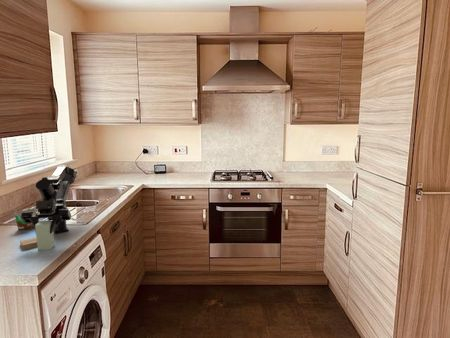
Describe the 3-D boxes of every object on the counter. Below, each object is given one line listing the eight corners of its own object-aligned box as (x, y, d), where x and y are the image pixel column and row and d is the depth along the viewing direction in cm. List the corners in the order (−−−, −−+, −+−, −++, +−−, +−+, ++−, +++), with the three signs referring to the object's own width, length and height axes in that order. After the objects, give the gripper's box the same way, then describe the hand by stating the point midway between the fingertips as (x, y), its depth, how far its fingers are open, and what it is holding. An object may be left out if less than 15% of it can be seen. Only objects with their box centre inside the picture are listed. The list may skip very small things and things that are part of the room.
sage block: (41, 245, 141) (39, 221, 139) (54, 244, 142) (51, 220, 140) (37, 250, 136) (35, 225, 134) (50, 249, 137) (48, 224, 135)
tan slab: (20, 245, 142) (20, 240, 142) (38, 242, 146) (38, 236, 146) (22, 250, 137) (21, 245, 136) (41, 246, 141) (40, 241, 140)
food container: (26, 231, 159) (24, 212, 157) (15, 231, 160) (13, 211, 158) (44, 223, 171) (42, 205, 169) (34, 223, 172) (32, 204, 170)
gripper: (19, 193, 137) (11, 227, 128) (67, 191, 141) (62, 223, 132) (28, 206, 146) (21, 238, 137) (73, 203, 150) (69, 234, 141)
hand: (43, 233), depth 136 cm, fingers closed on sage block, 5 cm apart
